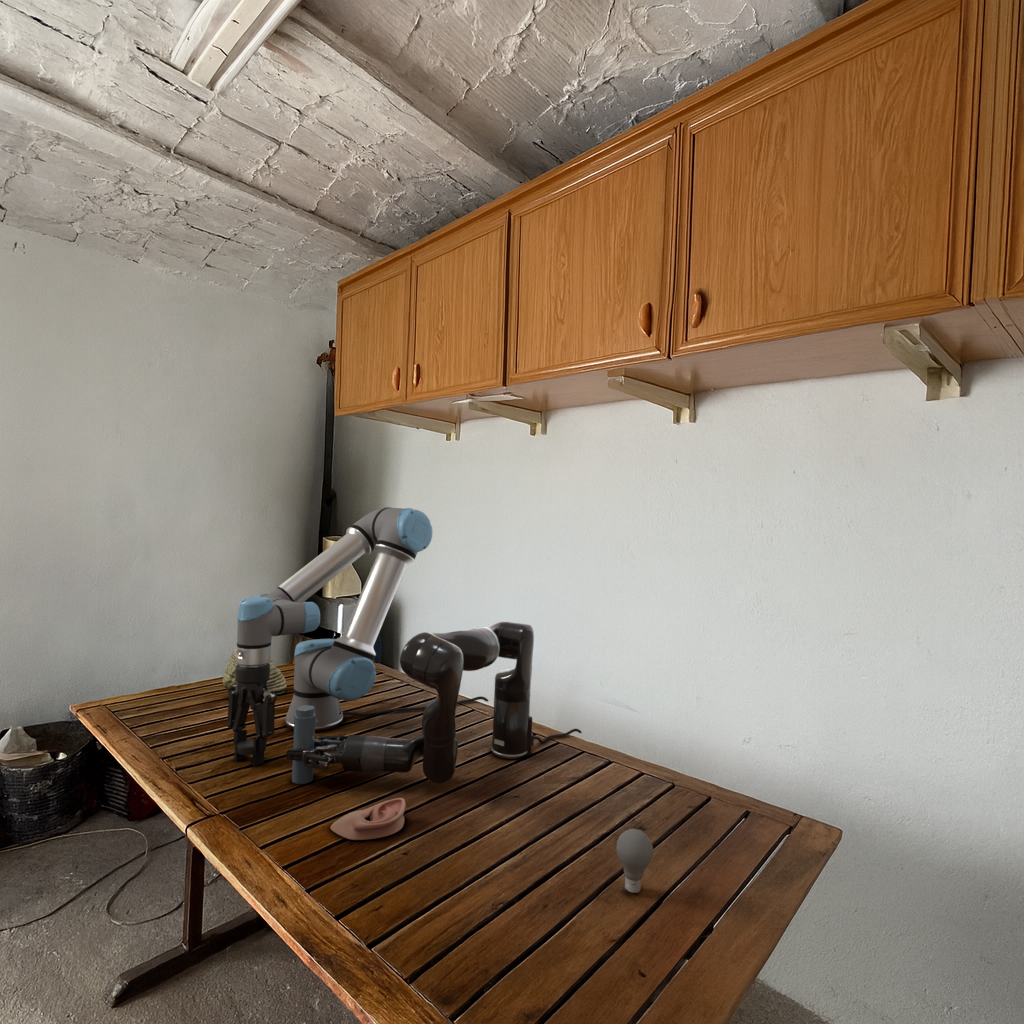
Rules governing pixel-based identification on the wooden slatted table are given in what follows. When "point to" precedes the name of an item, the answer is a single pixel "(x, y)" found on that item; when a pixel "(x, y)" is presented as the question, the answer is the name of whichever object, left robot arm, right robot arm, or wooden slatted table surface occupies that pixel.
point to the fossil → (274, 682)
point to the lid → (245, 747)
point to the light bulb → (634, 857)
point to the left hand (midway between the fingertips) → (249, 761)
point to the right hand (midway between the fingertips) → (291, 749)
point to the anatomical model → (372, 821)
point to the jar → (303, 742)
